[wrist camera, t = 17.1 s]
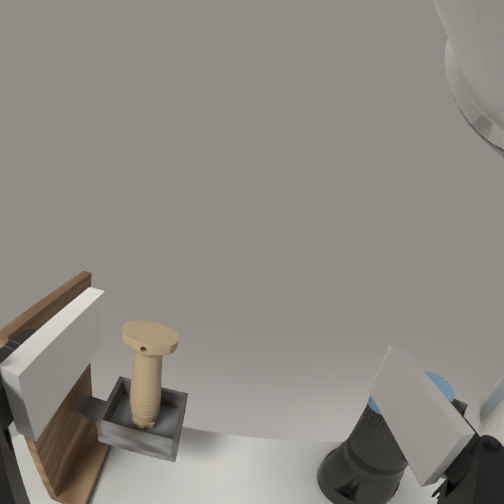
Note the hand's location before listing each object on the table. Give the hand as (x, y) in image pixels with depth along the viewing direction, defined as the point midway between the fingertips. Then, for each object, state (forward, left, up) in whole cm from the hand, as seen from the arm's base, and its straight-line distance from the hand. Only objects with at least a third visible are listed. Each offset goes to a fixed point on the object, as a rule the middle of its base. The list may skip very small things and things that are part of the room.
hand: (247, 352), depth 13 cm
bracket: (+11, -15, -36) cm, 40 cm away
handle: (+8, -19, -26) cm, 33 cm away
